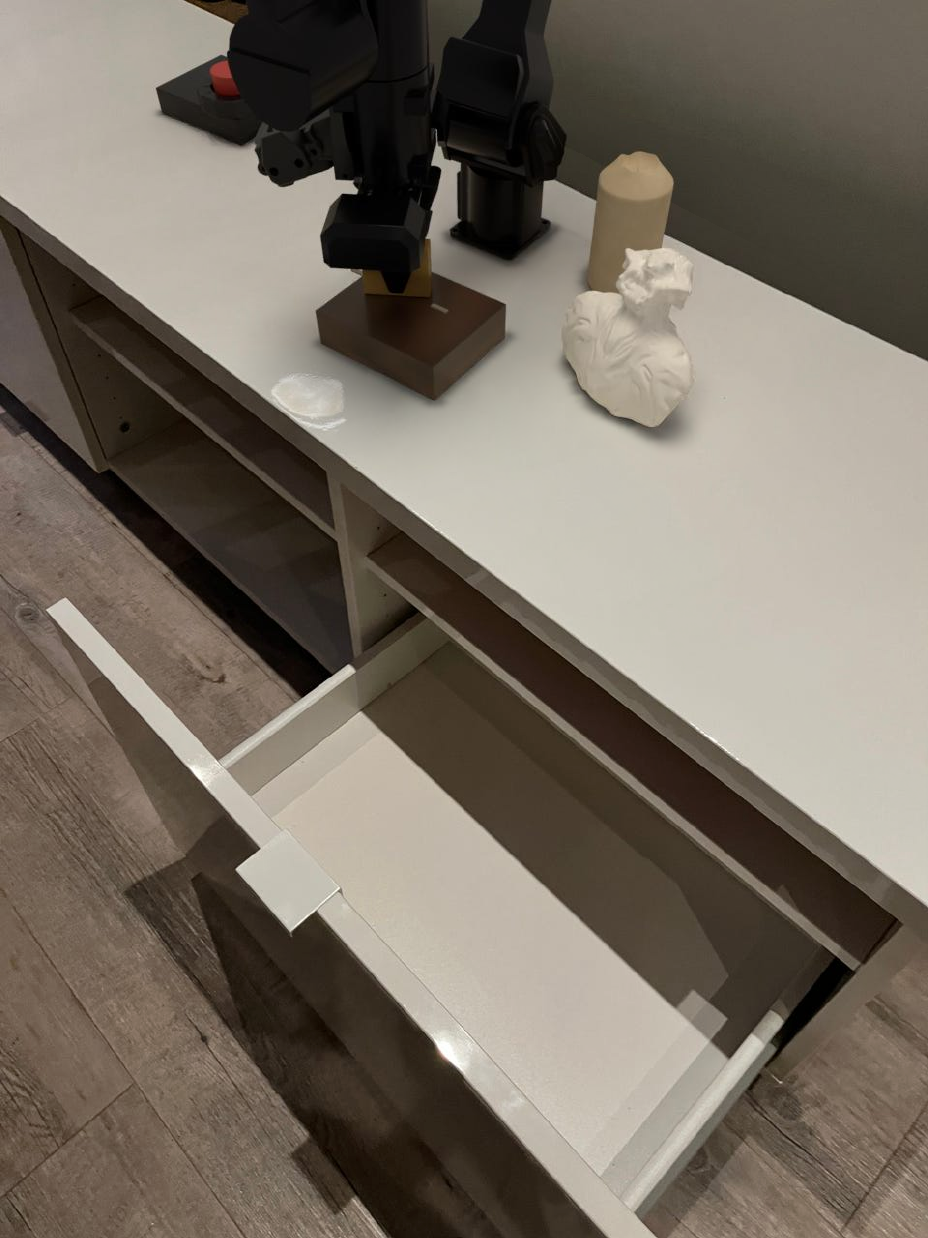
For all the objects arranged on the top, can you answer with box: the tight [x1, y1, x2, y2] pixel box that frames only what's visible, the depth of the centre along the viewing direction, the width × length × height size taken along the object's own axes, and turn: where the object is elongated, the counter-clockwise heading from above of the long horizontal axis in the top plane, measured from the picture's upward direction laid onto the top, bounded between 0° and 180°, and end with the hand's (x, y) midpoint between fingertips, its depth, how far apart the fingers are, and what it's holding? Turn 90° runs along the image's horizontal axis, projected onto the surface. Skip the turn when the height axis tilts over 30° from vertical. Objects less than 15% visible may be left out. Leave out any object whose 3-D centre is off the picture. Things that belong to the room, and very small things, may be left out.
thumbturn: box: [361, 238, 433, 297], centre depth 68 cm, size 5×1×4 cm, turn 84°
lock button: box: [210, 61, 239, 96], centre depth 87 cm, size 4×4×2 cm
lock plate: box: [315, 269, 507, 401], centre depth 70 cm, size 12×9×3 cm
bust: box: [561, 247, 697, 428], centre depth 64 cm, size 12×8×11 cm
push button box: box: [155, 54, 262, 146], centre depth 90 cm, size 12×10×4 cm
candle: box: [587, 151, 675, 296], centre depth 71 cm, size 6×6×10 cm
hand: (398, 284), depth 69 cm, fingers closed on thumbturn
